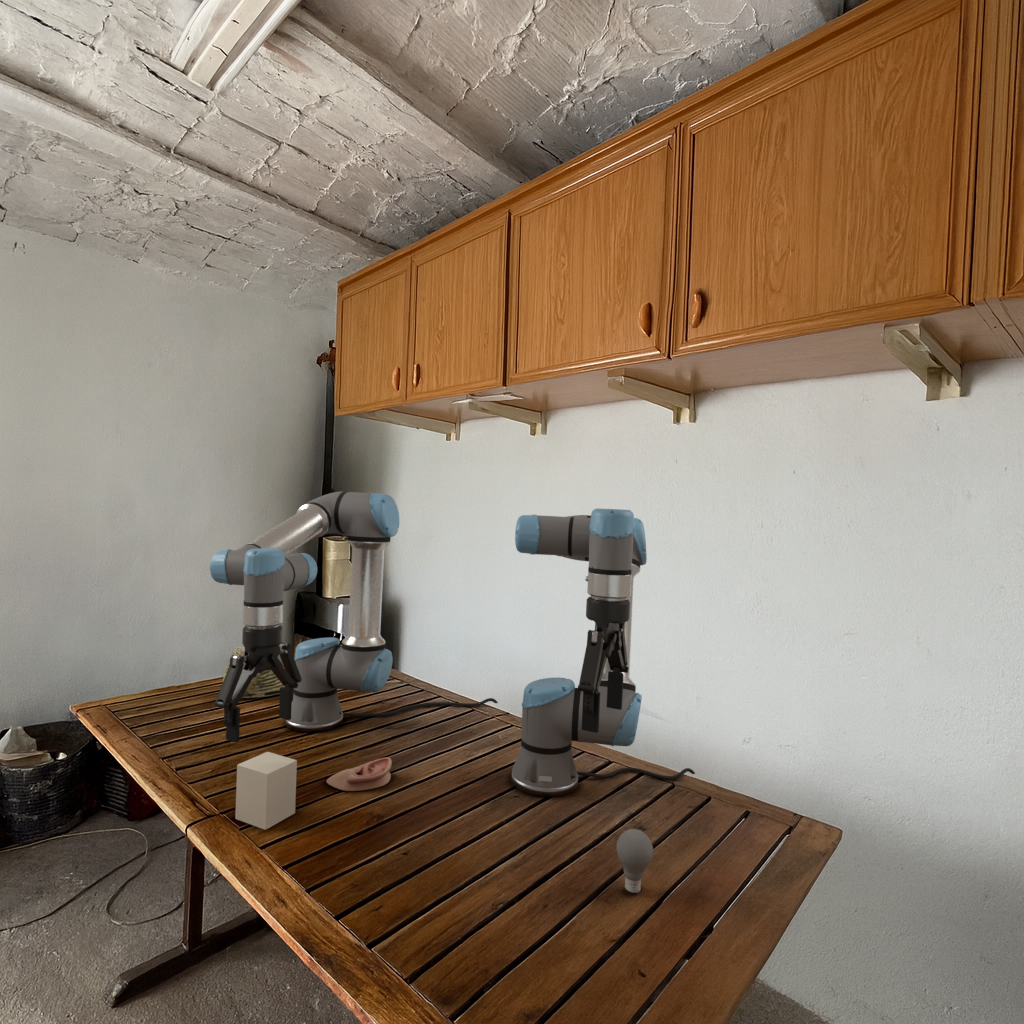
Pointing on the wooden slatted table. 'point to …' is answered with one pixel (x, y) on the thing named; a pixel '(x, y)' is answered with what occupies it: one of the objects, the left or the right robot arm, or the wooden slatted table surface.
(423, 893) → the wooden slatted table surface
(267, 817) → the brick
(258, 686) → the fossil
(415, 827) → the wooden slatted table surface
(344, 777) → the anatomical model
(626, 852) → the light bulb
